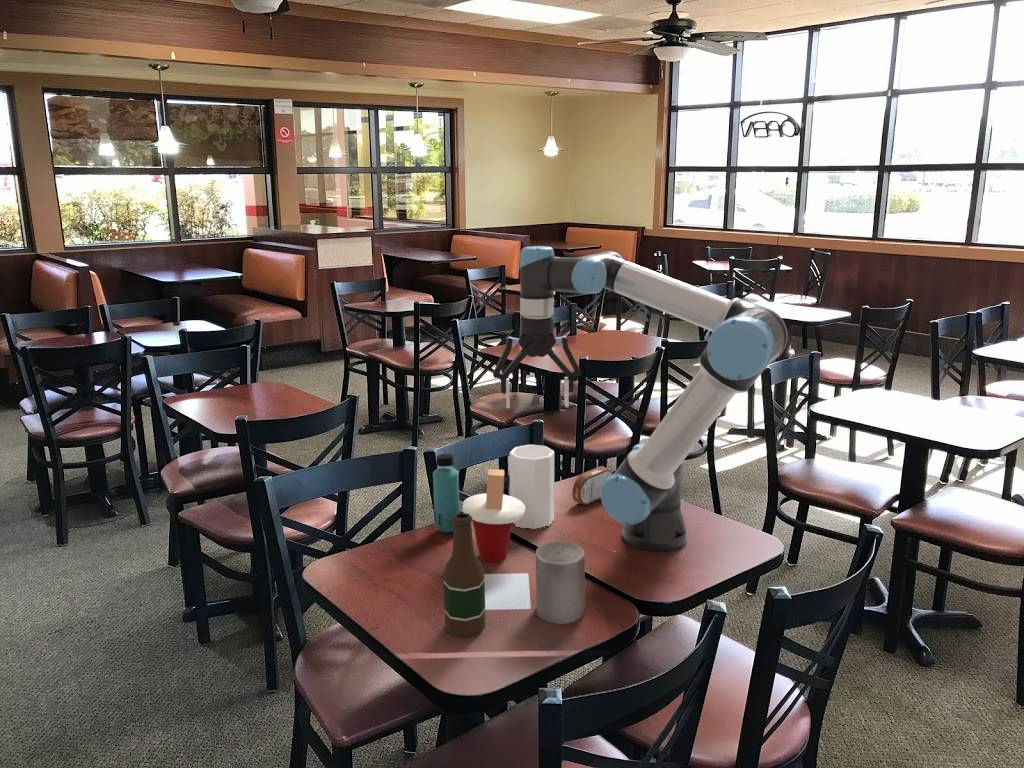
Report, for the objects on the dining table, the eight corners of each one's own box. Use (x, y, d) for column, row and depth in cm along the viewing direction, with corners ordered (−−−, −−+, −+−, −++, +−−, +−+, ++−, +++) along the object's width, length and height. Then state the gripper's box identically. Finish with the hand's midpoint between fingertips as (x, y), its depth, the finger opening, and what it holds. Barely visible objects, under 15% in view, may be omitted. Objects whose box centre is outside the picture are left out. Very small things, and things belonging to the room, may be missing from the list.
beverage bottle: (465, 529, 202) (463, 452, 197) (452, 539, 197) (450, 461, 192) (442, 524, 205) (440, 449, 200) (429, 535, 199) (426, 457, 194)
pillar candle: (559, 597, 170) (559, 530, 166) (595, 614, 163) (595, 545, 159) (525, 614, 163) (524, 545, 159) (561, 633, 156) (560, 562, 152)
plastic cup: (512, 572, 180) (512, 522, 177) (465, 568, 182) (463, 518, 179) (521, 550, 191) (521, 502, 188) (476, 547, 193) (475, 499, 190)
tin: (605, 490, 226) (606, 461, 224) (615, 493, 224) (615, 464, 222) (571, 506, 215) (571, 476, 213) (580, 509, 213) (580, 479, 211)
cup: (563, 519, 207) (563, 450, 203) (535, 534, 199) (535, 462, 195) (529, 508, 214) (528, 441, 210) (501, 522, 206) (500, 452, 202)
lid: (524, 499, 190) (526, 462, 188) (525, 525, 177) (528, 486, 174) (463, 496, 190) (465, 459, 188) (461, 522, 176) (463, 482, 174)
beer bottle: (445, 621, 161) (441, 508, 155) (484, 619, 161) (482, 506, 155) (445, 643, 153) (441, 525, 147) (486, 641, 154) (484, 523, 148)
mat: (528, 576, 178) (528, 573, 178) (530, 612, 164) (530, 608, 164) (459, 577, 178) (459, 574, 178) (456, 613, 164) (455, 610, 163)
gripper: (590, 312, 188) (589, 401, 194) (481, 313, 188) (483, 402, 193) (593, 317, 181) (592, 409, 186) (481, 319, 181) (483, 411, 186)
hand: (537, 406), depth 190 cm, fingers open, 13 cm apart
